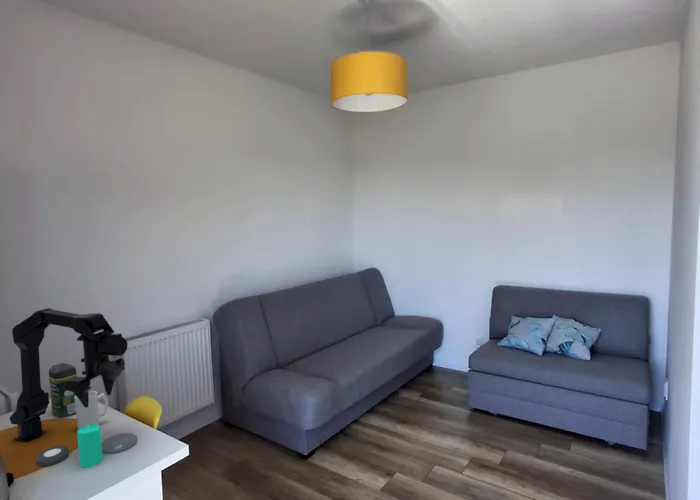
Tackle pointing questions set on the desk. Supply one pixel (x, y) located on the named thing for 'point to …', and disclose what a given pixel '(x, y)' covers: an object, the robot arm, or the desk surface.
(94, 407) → the mug
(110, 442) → the slate coaster
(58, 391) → the coffee jar
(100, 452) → the candle
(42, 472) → the desk surface
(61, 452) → the dark grey washer
